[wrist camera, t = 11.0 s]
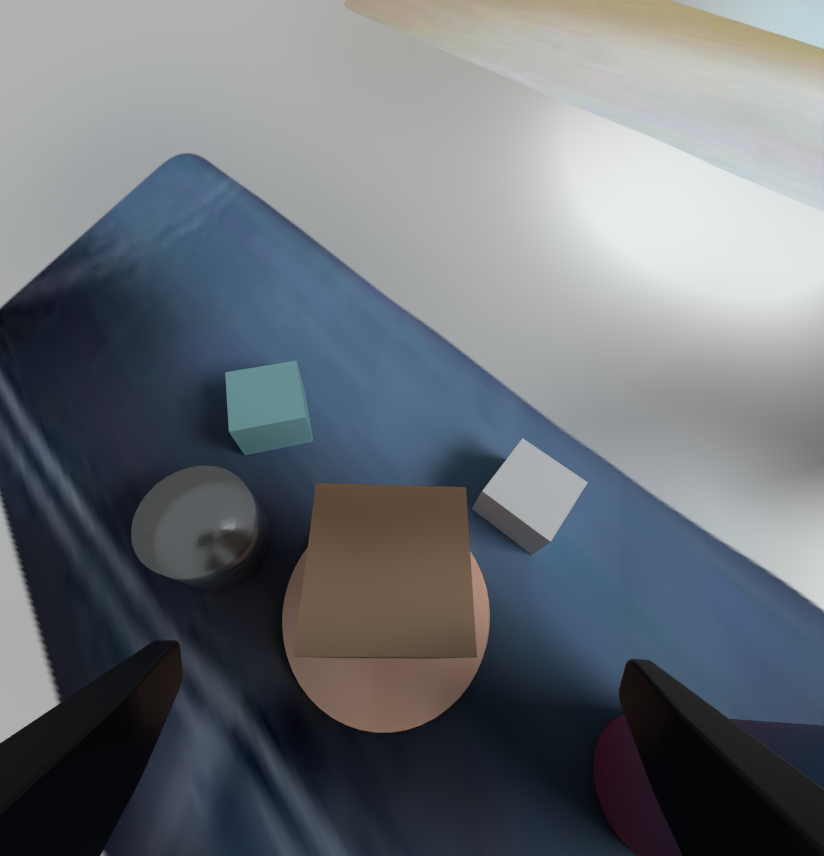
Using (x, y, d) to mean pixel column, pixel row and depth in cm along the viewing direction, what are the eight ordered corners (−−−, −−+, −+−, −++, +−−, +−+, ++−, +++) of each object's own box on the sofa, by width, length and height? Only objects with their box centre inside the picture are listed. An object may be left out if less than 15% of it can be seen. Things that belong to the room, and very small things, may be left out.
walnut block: (433, 658, 19) (476, 657, 10) (335, 658, 19) (293, 656, 10) (431, 558, 21) (466, 487, 12) (343, 556, 21) (316, 483, 12)
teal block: (313, 442, 25) (305, 417, 22) (245, 456, 24) (228, 431, 21) (304, 390, 27) (296, 360, 24) (240, 401, 26) (225, 372, 23)
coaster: (488, 739, 18) (492, 742, 17) (261, 720, 18) (257, 722, 17) (485, 518, 23) (488, 515, 22) (308, 501, 23) (306, 497, 22)
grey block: (565, 501, 24) (587, 482, 21) (531, 555, 22) (550, 541, 20) (508, 461, 25) (522, 438, 22) (471, 509, 23) (482, 490, 21)
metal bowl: (271, 582, 21) (250, 567, 17) (165, 597, 20) (121, 585, 16) (272, 489, 23) (254, 460, 20) (177, 500, 22) (141, 471, 19)
